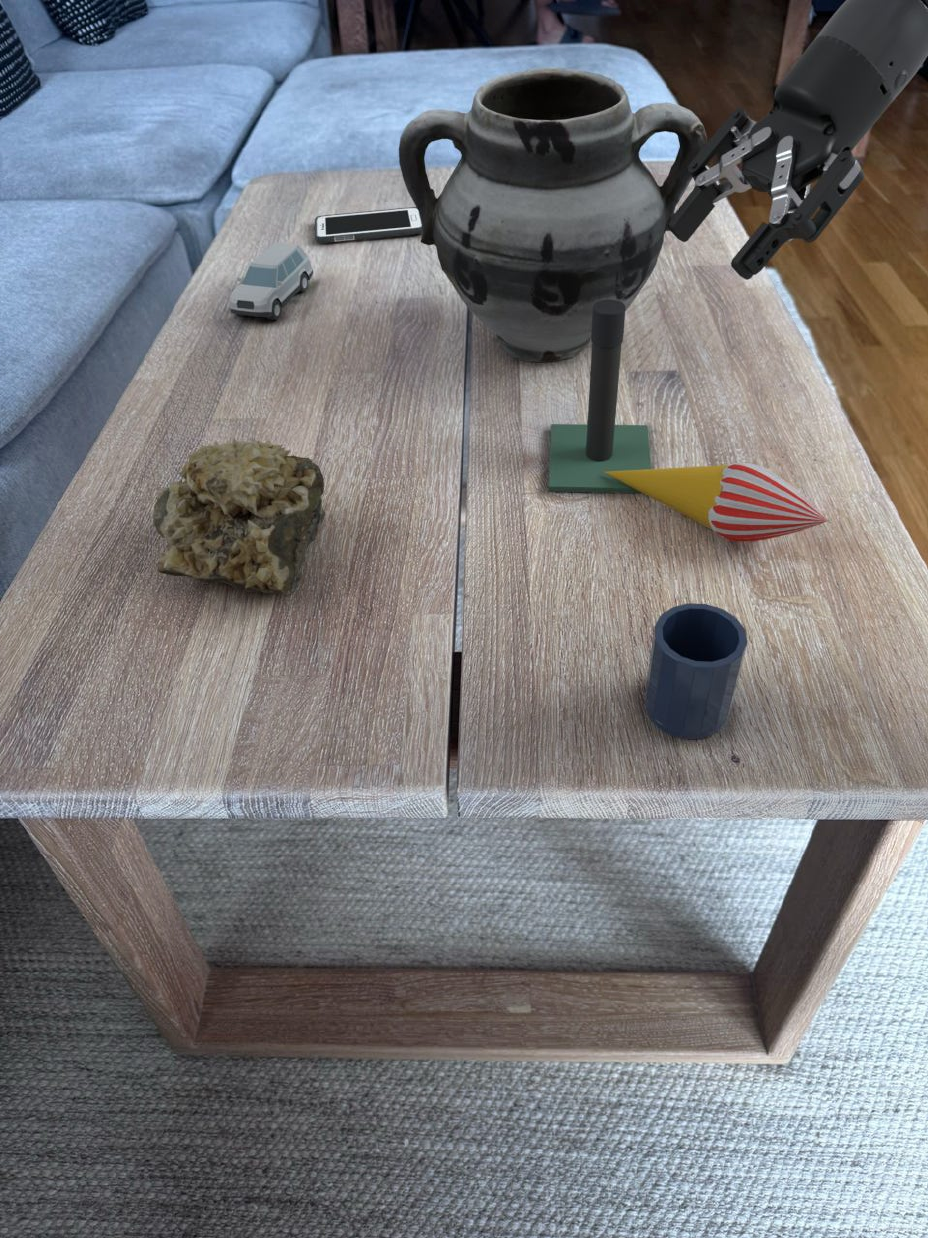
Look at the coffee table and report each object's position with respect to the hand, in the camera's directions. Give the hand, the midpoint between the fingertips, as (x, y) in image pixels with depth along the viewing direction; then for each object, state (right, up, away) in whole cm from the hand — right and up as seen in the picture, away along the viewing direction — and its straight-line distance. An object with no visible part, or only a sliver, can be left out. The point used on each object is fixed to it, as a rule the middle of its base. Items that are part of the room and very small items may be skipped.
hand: (705, 253), depth 73 cm
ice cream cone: (+1, -21, +3) cm, 21 cm away
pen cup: (-4, -35, -12) cm, 37 cm away
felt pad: (-7, -15, +10) cm, 19 cm away
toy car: (-42, +9, +36) cm, 56 cm away
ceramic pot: (-11, 0, +26) cm, 28 cm away
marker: (-7, -15, +9) cm, 19 cm away
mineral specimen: (-38, -25, +2) cm, 45 cm away
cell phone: (-32, +24, +51) cm, 65 cm away
